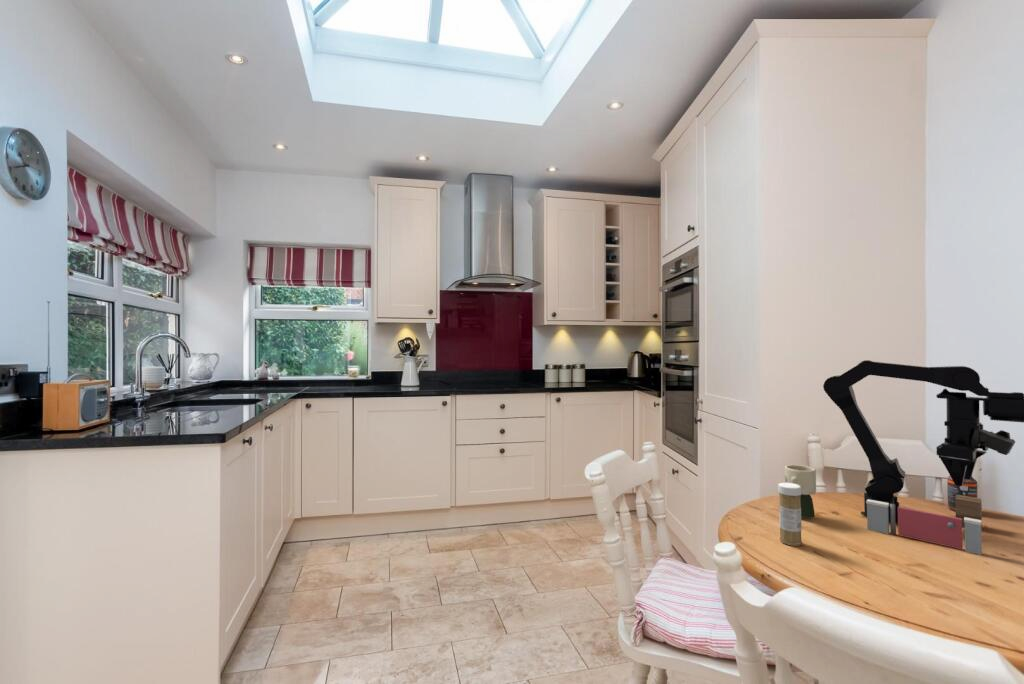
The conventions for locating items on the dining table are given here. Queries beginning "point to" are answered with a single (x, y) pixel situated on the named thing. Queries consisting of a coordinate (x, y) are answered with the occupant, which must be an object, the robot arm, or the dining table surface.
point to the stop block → (968, 508)
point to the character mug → (803, 486)
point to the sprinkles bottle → (790, 513)
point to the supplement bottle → (960, 490)
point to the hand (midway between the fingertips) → (963, 482)
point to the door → (930, 527)
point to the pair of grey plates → (880, 523)
